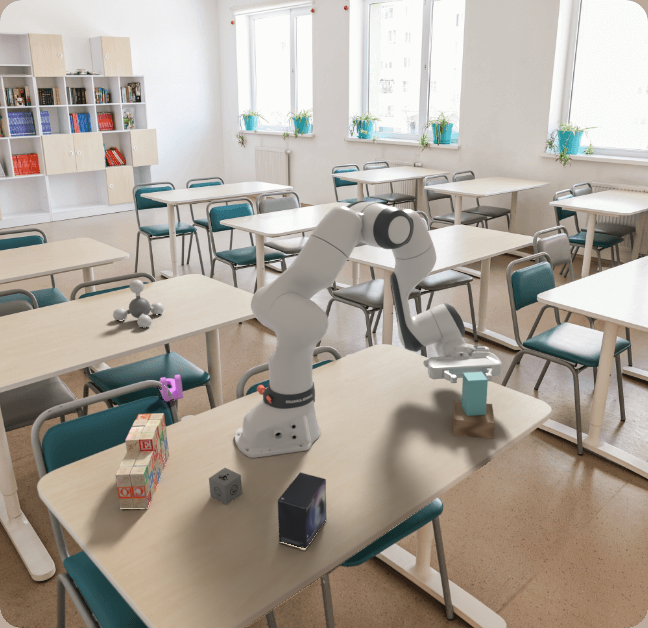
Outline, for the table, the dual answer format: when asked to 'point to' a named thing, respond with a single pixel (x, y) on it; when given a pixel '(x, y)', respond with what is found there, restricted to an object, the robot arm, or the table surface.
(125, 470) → the stack of blocks
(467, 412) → the teal pillar
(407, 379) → the table surface
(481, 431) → the walnut base
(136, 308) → the molecule model
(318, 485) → the small box
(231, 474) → the dice cube
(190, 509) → the table surface
